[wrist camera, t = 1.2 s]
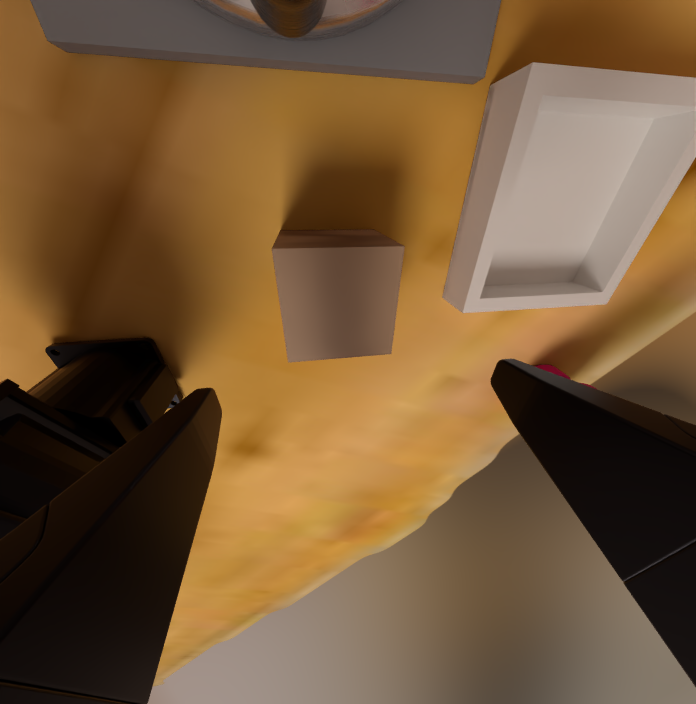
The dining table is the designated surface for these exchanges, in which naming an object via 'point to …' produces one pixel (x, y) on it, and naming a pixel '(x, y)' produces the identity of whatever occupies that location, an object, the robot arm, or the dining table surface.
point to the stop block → (337, 292)
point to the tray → (567, 184)
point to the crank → (300, 16)
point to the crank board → (261, 51)
